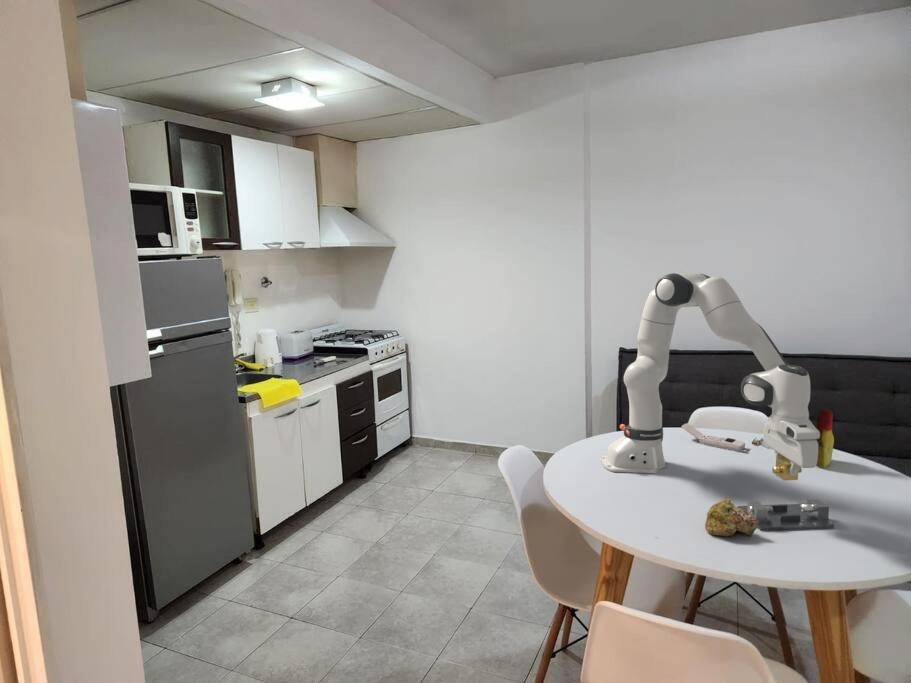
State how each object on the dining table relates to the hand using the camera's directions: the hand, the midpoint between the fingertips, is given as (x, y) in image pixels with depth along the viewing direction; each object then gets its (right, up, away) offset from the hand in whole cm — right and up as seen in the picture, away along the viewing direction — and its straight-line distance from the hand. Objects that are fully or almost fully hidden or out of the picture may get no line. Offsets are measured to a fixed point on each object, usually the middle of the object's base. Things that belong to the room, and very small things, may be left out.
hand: (786, 471), depth 159 cm
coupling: (0, -2, 0) cm, 2 cm away
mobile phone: (+8, -4, +62) cm, 63 cm away
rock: (-19, -16, -5) cm, 25 cm away
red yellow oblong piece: (+35, -7, +40) cm, 54 cm away
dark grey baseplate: (0, -14, +2) cm, 14 cm away
